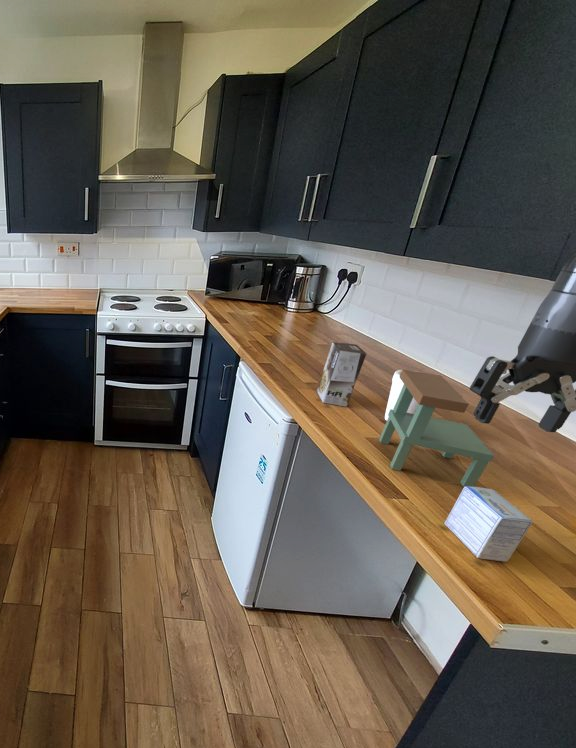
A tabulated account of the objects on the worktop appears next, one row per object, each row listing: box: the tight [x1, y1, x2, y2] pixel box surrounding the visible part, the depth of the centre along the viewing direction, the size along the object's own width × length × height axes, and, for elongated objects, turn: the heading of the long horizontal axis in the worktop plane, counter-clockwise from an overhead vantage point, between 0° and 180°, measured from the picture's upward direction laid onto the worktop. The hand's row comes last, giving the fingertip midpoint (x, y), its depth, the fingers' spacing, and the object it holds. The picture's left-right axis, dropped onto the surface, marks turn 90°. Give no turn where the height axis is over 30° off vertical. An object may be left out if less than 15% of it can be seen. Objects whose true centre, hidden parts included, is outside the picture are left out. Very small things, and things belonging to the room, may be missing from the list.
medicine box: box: [444, 486, 534, 563], centre depth 66 cm, size 8×4×9 cm, turn 170°
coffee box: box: [316, 341, 367, 408], centre depth 115 cm, size 9×6×16 cm
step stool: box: [378, 369, 495, 488], centre depth 86 cm, size 14×16×18 cm
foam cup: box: [384, 369, 419, 422], centre depth 104 cm, size 10×9×13 cm
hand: (513, 425), depth 63 cm, fingers open, 8 cm apart
